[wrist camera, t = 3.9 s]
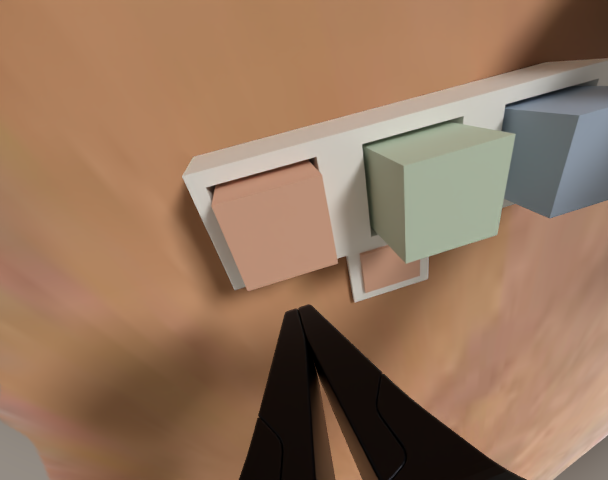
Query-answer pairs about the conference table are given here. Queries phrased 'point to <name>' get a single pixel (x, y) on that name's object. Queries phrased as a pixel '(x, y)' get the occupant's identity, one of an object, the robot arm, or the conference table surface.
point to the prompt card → (382, 272)
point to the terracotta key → (276, 223)
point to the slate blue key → (559, 150)
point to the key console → (366, 128)
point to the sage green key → (437, 187)
